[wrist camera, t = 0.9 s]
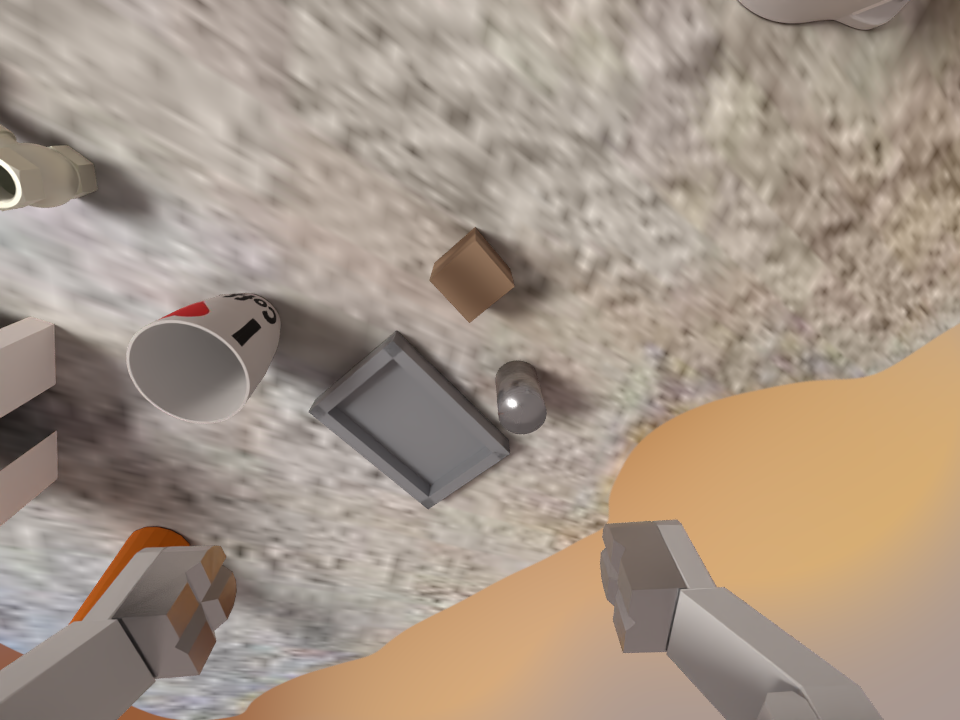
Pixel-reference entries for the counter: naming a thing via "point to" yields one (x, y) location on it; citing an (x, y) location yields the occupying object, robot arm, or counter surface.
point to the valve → (41, 174)
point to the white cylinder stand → (9, 384)
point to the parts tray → (410, 422)
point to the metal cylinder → (519, 398)
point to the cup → (205, 356)
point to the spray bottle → (134, 544)
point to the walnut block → (472, 275)
